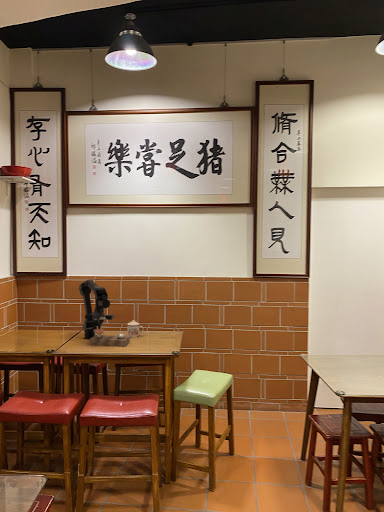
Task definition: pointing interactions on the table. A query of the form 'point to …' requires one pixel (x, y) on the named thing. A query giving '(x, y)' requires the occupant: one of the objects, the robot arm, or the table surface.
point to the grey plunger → (121, 336)
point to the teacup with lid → (133, 329)
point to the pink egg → (99, 332)
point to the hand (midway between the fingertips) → (99, 329)
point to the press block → (109, 341)
